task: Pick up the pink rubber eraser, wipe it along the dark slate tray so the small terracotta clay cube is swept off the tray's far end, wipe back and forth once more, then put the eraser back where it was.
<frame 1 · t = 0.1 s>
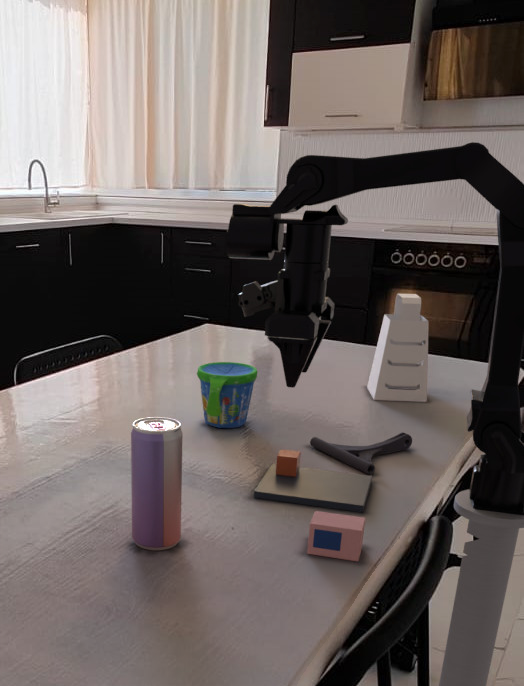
hand: (297, 379, 106), 16 cm above the table, tool pointing down, fingers open, 9 cm apart
clay cube: (287, 472, 114), point 1 cm above the table, touching tray
beverage can: (156, 542, 94), on the table
tray: (314, 489, 111), on the table
squeegee: (373, 455, 125), on the table
snack cup: (225, 424, 140), on the table
eraser: (334, 550, 92), on the table
grater: (395, 395, 161), on the table
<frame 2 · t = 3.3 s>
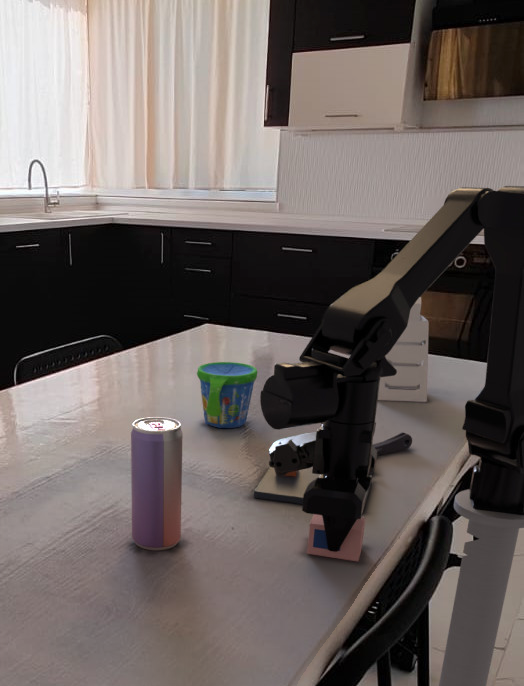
hand: (335, 543, 92), 1 cm above the table, tool pointing down, fingers closed on eraser, 4 cm apart
eraser: (334, 550, 92), on the table, touching gripper
everything else where it was.
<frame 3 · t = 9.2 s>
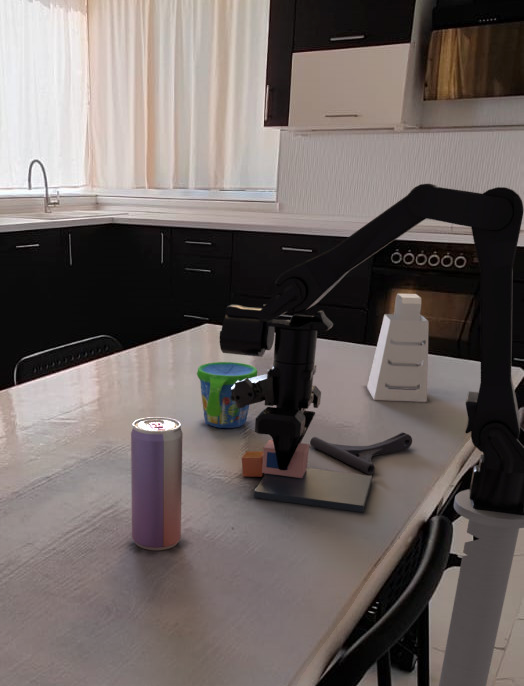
hand: (285, 464, 114), 2 cm above the table, tool pointing down, fingers closed on eraser, 4 cm apart
clay cube: (254, 473, 116), on the table, tilted 7°
eraser: (284, 471, 114), point 1 cm above the table, touching gripper
everything else where it was.
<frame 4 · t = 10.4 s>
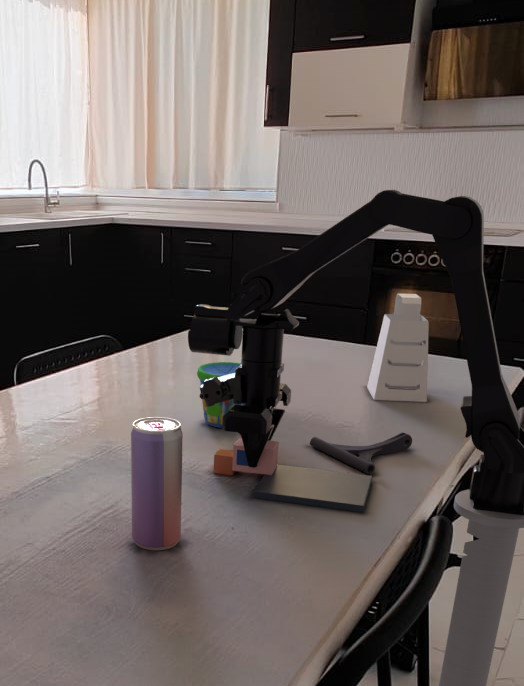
hand: (255, 462, 115), 2 cm above the table, tool pointing down, fingers closed on eraser, 4 cm apart
clay cube: (225, 471, 117), on the table, touching eraser
eraser: (254, 468, 116), point 1 cm above the table, touching clay cube, gripper, tray
everything else where it was.
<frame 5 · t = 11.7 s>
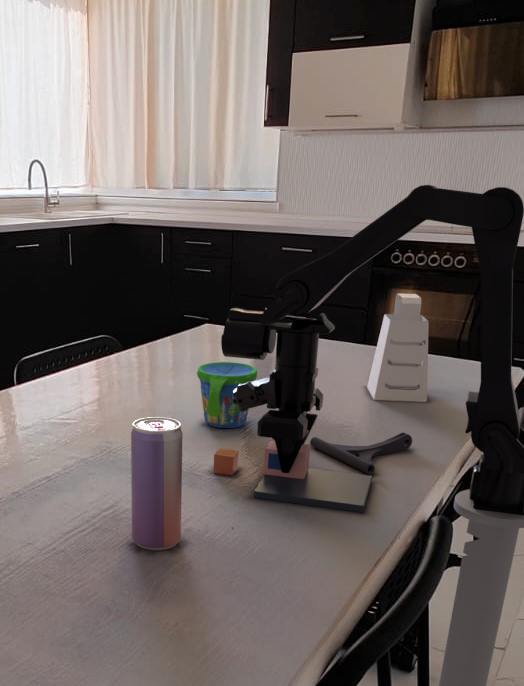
hand: (288, 467, 114), 2 cm above the table, tool pointing down, fingers closed on eraser, 4 cm apart
clay cube: (225, 471, 117), on the table
eraser: (285, 472, 114), point 1 cm above the table, touching gripper
everything else where it was.
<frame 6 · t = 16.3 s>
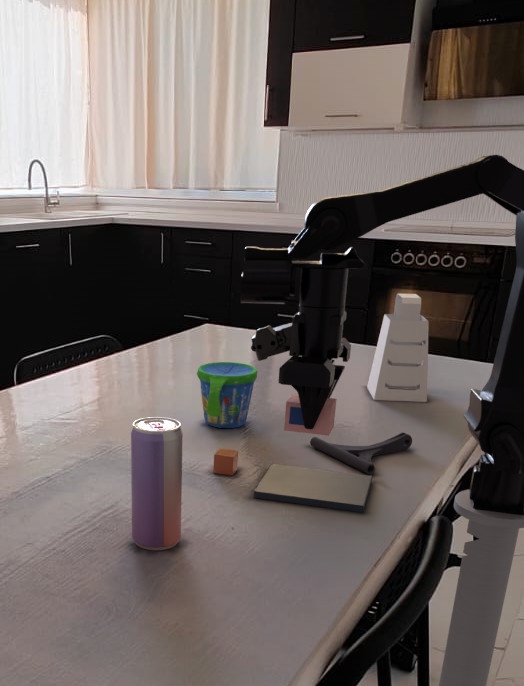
hand: (311, 424, 103), 11 cm above the table, tool pointing down, fingers closed on eraser, 4 cm apart
eraser: (308, 428, 103), point 10 cm above the table, touching gripper
everything else where it was.
when the fingers open (1 cm above the table, at t = 20.3 s): eraser stays where it is, on the table.
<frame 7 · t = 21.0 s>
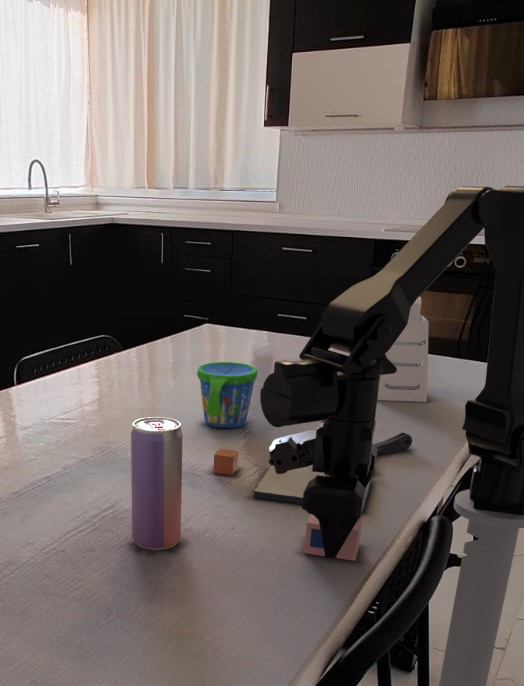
hand: (335, 541, 92), 1 cm above the table, tool pointing down, fingers open, 9 cm apart
eraser: (331, 550, 93), on the table
everything else where it was.
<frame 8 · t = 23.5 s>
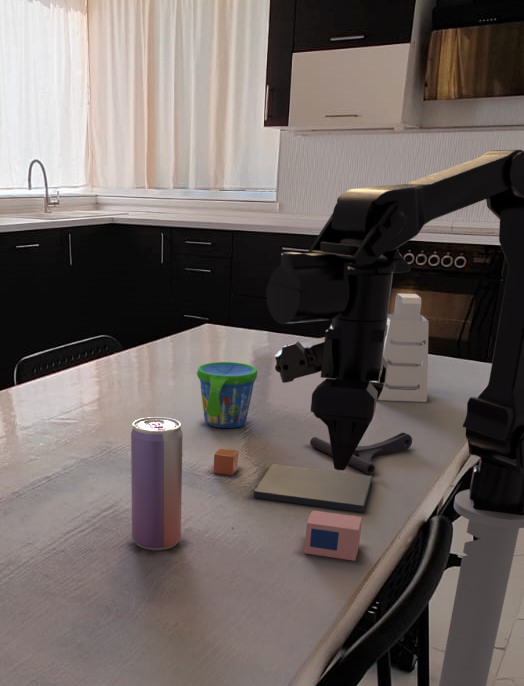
hand: (344, 456, 88), 12 cm above the table, tool pointing down, fingers open, 9 cm apart
nothing on the table moved.
at the end: clay cube on the table; the gripper is holding nothing; eraser inside the target area (0.4 cm from its centre), on the table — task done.
